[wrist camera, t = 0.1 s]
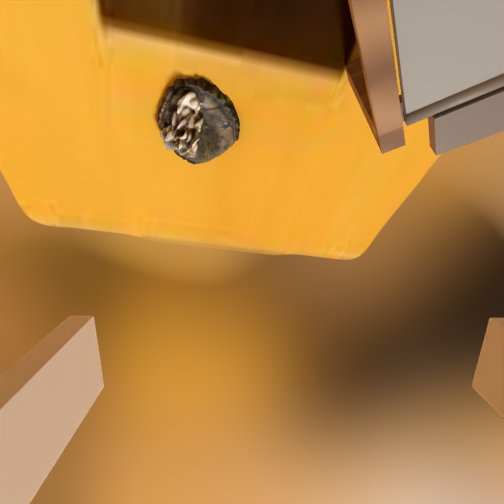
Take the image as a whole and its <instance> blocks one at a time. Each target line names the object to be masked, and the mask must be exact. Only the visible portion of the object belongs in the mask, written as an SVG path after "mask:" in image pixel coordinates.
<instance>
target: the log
mask: <svg viewBox="0 0 504 504" xmlns="http://www.w3.org/2000/svg"><path fill="white" fill-rule="evenodd" d="M158 113H159V114H158V123H159V126H160V128H161V132H160V134H161V138H162V140H165V141H164V146H165V148H166V149H168V150H171V149H172V150H174V152H175V153H176V154H177V155H178V156H180V157H181V158H183V159H184V160H185V159H187V161H188V162H189V163H192V164H197V163H198V164H199V163H204V162H208V161H210V160H212V159H213V158H216V157H218V156H219V155H221V154H222V153H224V152H225V151H226V150H228V148H229V147H231V146H232V145H233V144H234V142H235V141H237V140H238V138H239V131H240V129H239V126H240V122H239V119H238V116H237V113H236V111H235V108H234V106H233V103H232V102H231V100H230V99H229V97H228V96H227V95H224V94H223V93H222V92H221V91H220V90H219V89H218V87H217V86H216V85H211V84H210V83H209V82H207V81H206V80H205V79H203V78H200V79H197V80H195V79H194V78H187V79H181V78H179V79H176V81H175V82H174V86H171V87H168V89H167V90H166V96H165V97H164V98H163V99H162V105H161V107H160V108H159V111H158Z"/></svg>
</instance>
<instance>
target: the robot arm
mask: <svg viewBox="0 0 504 504" xmlns="http://www.w3.org/2000/svg"><path fill="white" fill-rule="evenodd" d="M103 387H104V383H103V376H102V369H101V362H100V356H99V349H98V342H97V336H96V329H95V322H94V316H69V317H68V318H67V319H66V320H64V321H63V322H62V323H61V324H60V325H59V326H58V327H56V328H55V329H54V330H53V331H52V332H51V333H49V334H48V335H47V336H46V337H45V338H44V339H43V340H41V341H40V342H39V343H38V344H37V345H36V346H35V347H33V348H32V349H31V350H30V351H29V352H28V353H26V354H25V355H24V356H23V357H22V358H21V359H20V360H18V362H16V363H15V364H14V365H13V366H11V367H10V368H9V369H8V370H7V371H6V372H5V373H4V374H2V375H1V376H0V504H30V502H31V501H32V499H33V497H34V496H35V494H36V493H37V491H38V490H39V488H40V486H41V484H42V483H43V482H44V480H45V479H46V477H47V475H48V474H49V472H50V471H51V469H52V468H53V466H54V464H55V463H56V461H57V459H58V458H59V456H60V455H61V453H62V452H63V450H64V449H65V447H66V445H67V444H68V442H69V441H70V439H71V438H72V436H73V434H74V433H75V431H76V430H77V428H78V427H79V425H80V423H81V422H82V420H83V419H84V417H85V416H86V414H87V412H88V411H89V409H90V408H91V406H92V405H93V403H94V401H95V400H96V398H97V397H98V395H99V394H100V392H101V390H102V389H103ZM472 387H473V388H474V389H475V390H476V391H477V392H478V393H479V394H480V395H481V396H482V397H483V398H484V399H485V400H486V401H487V402H488V403H489V404H490V405H491V406H492V407H493V408H494V409H495V410H496V411H497V412H498V413H499V414H500V415H501V416H502V417H503V418H504V318H490V319H489V323H488V327H487V331H486V334H485V338H484V342H483V346H482V350H481V353H480V357H479V361H478V364H477V368H476V372H475V376H474V379H473V383H472Z"/></svg>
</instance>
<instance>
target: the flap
mask: <svg viewBox="0 0 504 504" xmlns="http://www.w3.org/2000/svg"><path fill="white" fill-rule="evenodd" d="M390 7H391V15H392V23H393V31H394V39H395V47H396V55H397V63H398V71H399V79H400V87H401V95H402V103H403V117H404V120H405V123H406V125H407V126H408V125H411V124H413V123H416V122H418V121H420V120H423V119H425V118H428V123H429V139H430V147H431V148H432V150H433V151H434V153H435V154H436V155H439V154H441V153H444V152H447V151H450V150H452V149H455V148H458V147H460V146H463V145H466V144H469V143H471V142H474V141H477V140H480V139H483V138H485V137H488V136H490V135H494V134H496V133H499V132H502V131H504V0H390Z"/></svg>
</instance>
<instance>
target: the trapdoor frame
mask: <svg viewBox="0 0 504 504" xmlns="http://www.w3.org/2000/svg"><path fill="white" fill-rule="evenodd" d="M348 2H349V7H350V12H351V17H352V21H353V26H354V31H355V36H356V40H357V45H358V50H359V55H360V59H358V60H356V61H354V62H352V63H350V64H348V65H346V66H345V67H346V71H347V75H348V79H349V83H350V85H351V87H352V89H353V91H354V93H355V96H356V98H357V100H358V102H359V104H360V106H361V109H362V111H363V113H364V115H365V117H366V120H367V122H368V124H369V126H370V128H371V130H372V133H373V135H374V137H375V139H376V141H377V144H378V146H379V148H380V150H381V152H382V154H383V153H386V152H388V151H391V150H394V149H396V148H399V147H401V146H404V145H405V138H404V131H403V123H402V121H405V120H404V117H403V103H402V95H399V93H398V85H397V78H396V70H395V62H394V55H393V47H392V40H391V32H390V25H389V17H388V9H387V2H386V0H348Z"/></svg>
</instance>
